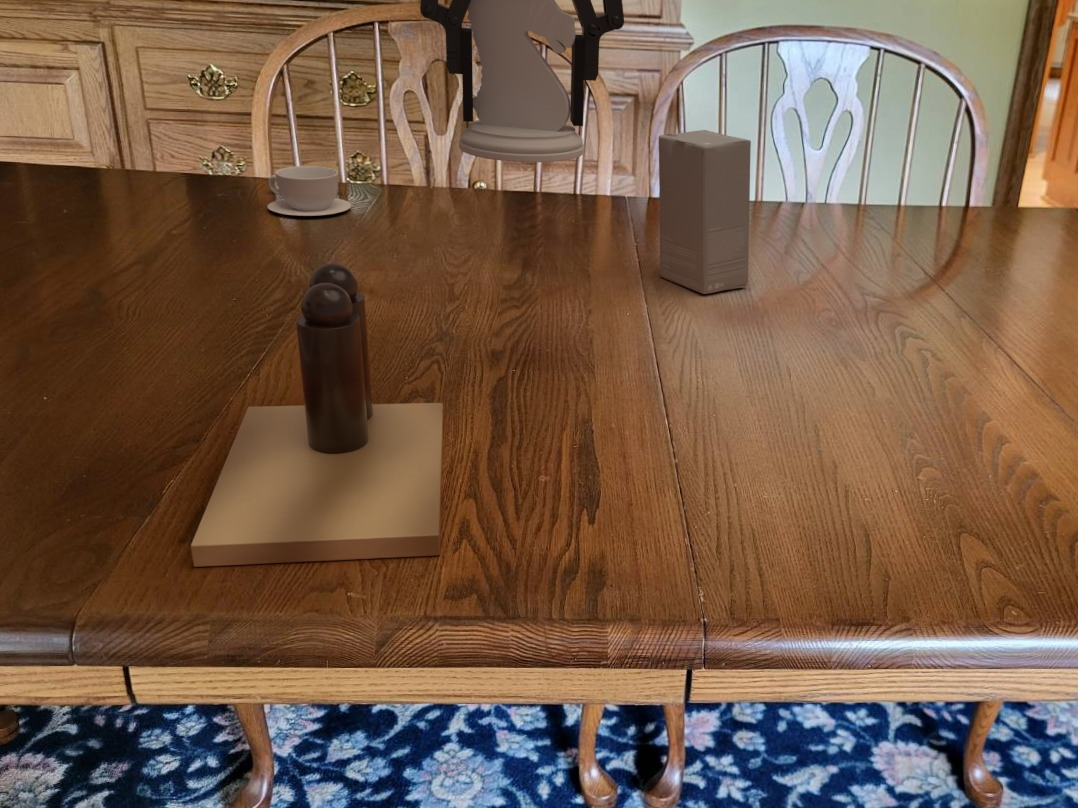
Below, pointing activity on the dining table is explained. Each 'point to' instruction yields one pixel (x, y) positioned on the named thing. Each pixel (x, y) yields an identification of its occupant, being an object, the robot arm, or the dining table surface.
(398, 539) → the wooden stand with posts
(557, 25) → the chess piece
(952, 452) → the dining table surface
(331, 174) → the teacup
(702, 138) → the cosmetic box
